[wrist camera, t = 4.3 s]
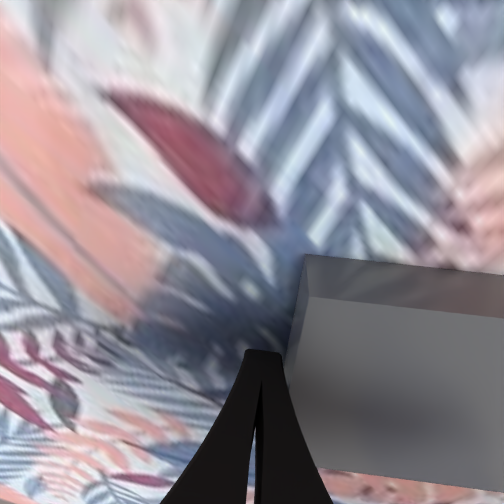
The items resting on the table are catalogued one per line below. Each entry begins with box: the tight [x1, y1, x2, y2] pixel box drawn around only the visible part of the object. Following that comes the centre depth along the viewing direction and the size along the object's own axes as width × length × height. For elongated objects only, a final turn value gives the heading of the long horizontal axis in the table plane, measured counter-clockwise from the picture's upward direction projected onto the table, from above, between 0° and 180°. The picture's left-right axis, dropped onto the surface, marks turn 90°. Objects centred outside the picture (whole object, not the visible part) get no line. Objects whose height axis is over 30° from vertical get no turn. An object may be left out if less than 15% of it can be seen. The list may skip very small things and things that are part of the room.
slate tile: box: [284, 254, 504, 493], centre depth 12 cm, size 9×12×2 cm
